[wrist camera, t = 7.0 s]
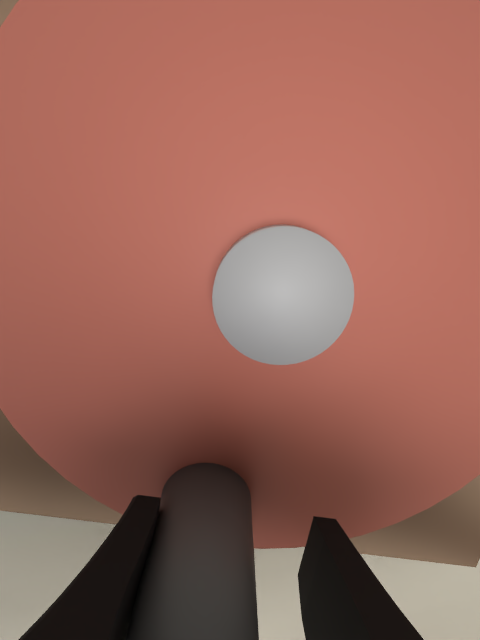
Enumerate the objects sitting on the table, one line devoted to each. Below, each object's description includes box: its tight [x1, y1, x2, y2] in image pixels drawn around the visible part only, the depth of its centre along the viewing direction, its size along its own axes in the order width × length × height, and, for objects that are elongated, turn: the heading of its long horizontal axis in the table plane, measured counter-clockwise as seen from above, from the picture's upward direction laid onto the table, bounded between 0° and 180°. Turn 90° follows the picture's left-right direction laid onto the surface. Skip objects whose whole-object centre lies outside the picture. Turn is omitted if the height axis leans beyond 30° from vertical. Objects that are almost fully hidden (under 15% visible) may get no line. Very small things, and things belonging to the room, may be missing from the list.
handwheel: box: [0, 0, 480, 640], centre depth 8 cm, size 16×16×6 cm
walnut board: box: [0, 0, 480, 567], centre depth 12 cm, size 18×18×2 cm
